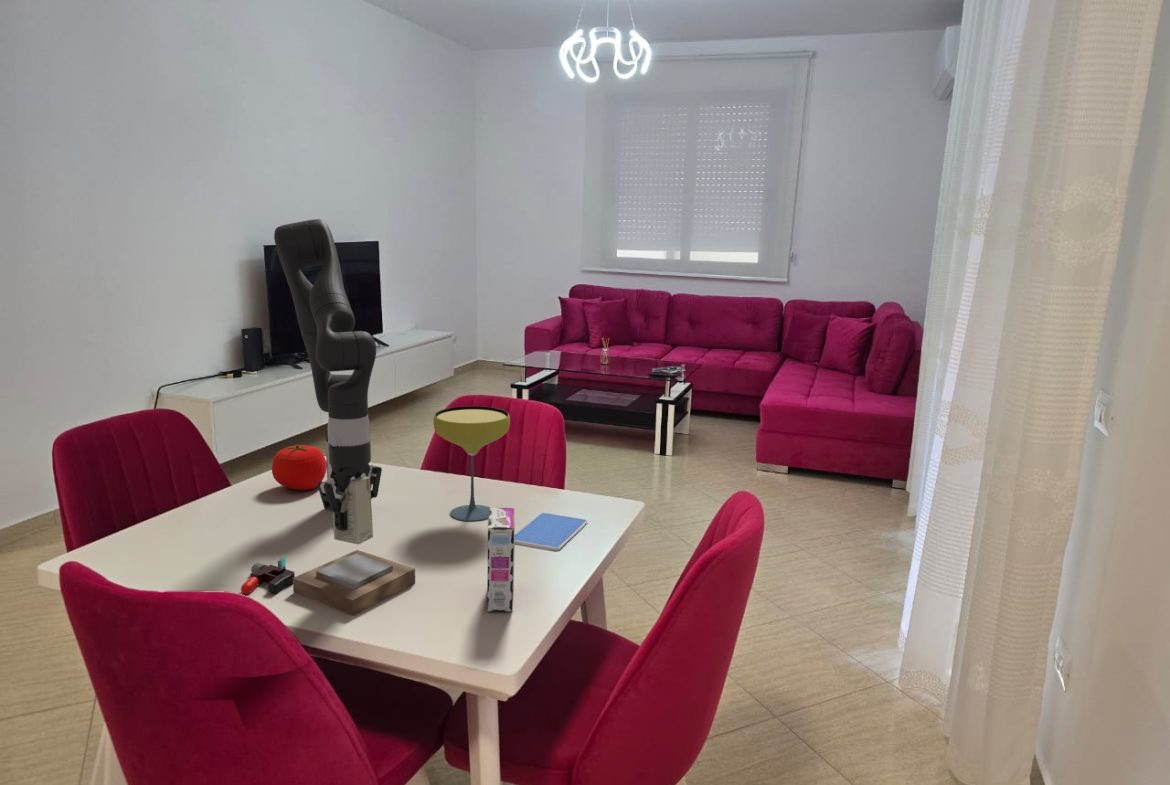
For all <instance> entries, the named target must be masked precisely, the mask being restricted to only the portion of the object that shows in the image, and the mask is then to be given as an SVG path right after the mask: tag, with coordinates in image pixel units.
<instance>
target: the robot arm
mask: <svg viewBox="0 0 1170 785" xmlns="http://www.w3.org/2000/svg"><path fill="white" fill-rule="evenodd" d="M273 234H274V235H273V239H274V244H275V248H276V252H277V255H278V258H279V261H280V264H281V267H282V269H283V273H284V276H285V279H286V282H287V284H288V286H289V290H290V294H291V298H292V300H293V305H294V308H295V314H296V318H297V322H298V326H299V330H300V334H301V337H302V341H303V344H304V346H305V350H306V353H307V356H308V360H309V364H310V369H311V375H312V380H313V387H314V392H315V397H316V402H317V405H318V407H319V408H320V410H321V411H322V412H325V413H328V421H327V428H326V430H325V433H324V435H325V456H326V457H325V460H326V463H327V469H326V478H327V480H325V481H322V482H321V481H320V482H319V483H318V486H317V488H318V489H317V490H318V493H319V496H320V499H321V501H322V505H323V509H324V510H325V511H329V512H334V518H335V527H336V528H337V529H338V530H341V531H345V530H347V512H346V507H347V502H348V500H350V490H349V486H350V483H351V482H352V481H355V478H364V477H370V489H371V500H372V499H376V498H377V497H378V495H379V489H380V482H381V476H382V473H383V472H382V471H383V468H382V467H381V466H376V465H373V464H370V463H371V461H372V449H371V448H372V446H371V425H370V420H369V401H368V400H369V398H368V395H369V393H368V392H369V386H370V381H371V376H372V372H373V369H374V365H375V362H376V357H377V344H376V341H375V338H374V337H373V336H372V335H371V333H369V332H367V331H363V330H355V331H353V330H354V328H355V325H356V318H355V315H354V312H353V309H352V307H351V304H350V301H349V299H348V297H347V293H346V290H345V286H344V279H343V275H342V270H341V269H342V268H341V265H340V260H339V256H338V250H337V247H336V244H335V240H334V236H333V233H332V232H331V229H330V227H329V225H328V224H327V222H326V221H325V220H324V219H320V218H316V219H314V218H313V219H307V220H302V221H296V222H292V223H291V222H290V223H287V224H283V225H279V226H278V227H276V228H275V230H274V233H273ZM319 266H321V269H320V272H319V273H318V276H317V277H316V279H315V281H314V283H313V284H312V283H311V282H310V281H309V279H308V278H307V277H306V276H305V275H304V272H302V271H301V270H305V269H308V268H309V269H310V268H312V267H313V268H315V267H319ZM343 371H344V372H345V371H353V372H352V373H351V374H333V373H332V372H343ZM334 485H335V486H334ZM337 489H338V490H339V491H340V492H343V493H344V495H341V494H338V492H337ZM340 499H341V504H340ZM339 504H340V505H339Z"/></svg>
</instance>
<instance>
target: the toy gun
mask: <svg viewBox="0 0 1170 785" xmlns="http://www.w3.org/2000/svg"><path fill="white" fill-rule="evenodd" d="M286 568H287V567H286V555H284V554H283V555H281V557H279V558H278V560H277V565H274V564H269V565H268V564H265V563H261V562H254V563H253V565H251V568H250V569H251V570H250V571H251V573H250V574H249V576H250V577H249V578H248V579H247V580H246V581H245V582H244V583H243V584H242V585H241V587H240V591H241V593H242V594H244V595H249V594H251V593H252V592H253V591H254V590H255V589H256V588H257V587H258V586H259V585H263V584H265V583H266V584H267V589H268V591H267V592H268V593H270V594H272V595H277V594H278V593H280V592H281V591H282V590H284V589H285V588H287V587H289V586H291V585H293V578H294V577H296V575H295V571H293V570H289V569H286Z"/></svg>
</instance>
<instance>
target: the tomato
mask: <svg viewBox="0 0 1170 785" xmlns="http://www.w3.org/2000/svg"><path fill="white" fill-rule="evenodd" d="M271 474H272V478H273V479H274V480H275V481H276V482H277V483H278V484H280V486H283V487H285V488H287V489H291V490H296V491H297V490H298V491H306V490H307V491H308V490H311V489H314V488H317V487H318V483H319V482H320V481H321V482H323V481H324V479H325V476H326V475H327V461H326V457H325V455H324V453H323V452H322V450H320V449H319V448H317V447H315V446H311V445H304V444H302V445H301V444H295V445H291V446H287V447H284V448H281V449H280V450H279V451H277V453H276V454H275V455H274V456H273V459H272V464H271Z"/></svg>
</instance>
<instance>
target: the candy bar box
mask: <svg viewBox="0 0 1170 785" xmlns="http://www.w3.org/2000/svg"><path fill="white" fill-rule="evenodd" d="M515 524H516V523H515V507H490V512H489V518H488V522H487V578H486V579H487V583H486V584H487V585H486V586H487V588H486V590H487V593H486V595H487V596H486V597H487V598H486V599H487V600H486V603H487V604H486V606H487V607H486V612H487V613H512V612H513V609H514V608H513V606H514V589H515V588H514V587H515V547H516V546H515V545H516V544H515V534H516V533H515V531H516V530H515V529H516V528H515V526H516V525H515Z"/></svg>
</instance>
